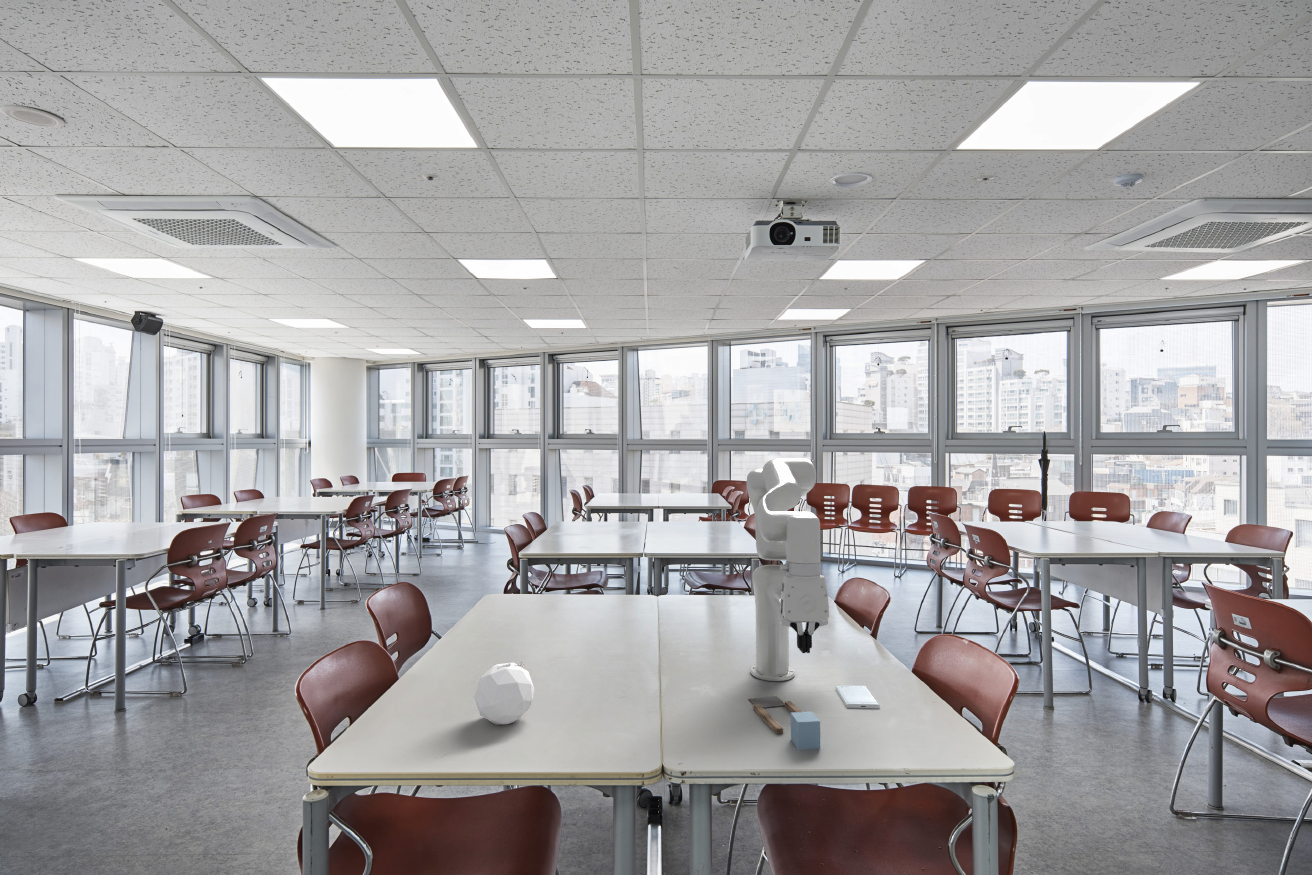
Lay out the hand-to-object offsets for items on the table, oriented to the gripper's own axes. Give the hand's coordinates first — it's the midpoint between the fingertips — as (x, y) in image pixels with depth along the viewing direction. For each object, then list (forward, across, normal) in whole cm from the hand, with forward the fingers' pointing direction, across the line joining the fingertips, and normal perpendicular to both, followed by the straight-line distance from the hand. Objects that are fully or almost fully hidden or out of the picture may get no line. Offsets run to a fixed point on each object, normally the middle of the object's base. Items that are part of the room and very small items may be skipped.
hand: (804, 651), depth 138 cm
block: (+20, 0, -1) cm, 20 cm away
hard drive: (+20, +21, +23) cm, 37 cm away
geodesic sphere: (+20, -70, +14) cm, 74 cm away
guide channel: (+20, -2, +14) cm, 24 cm away
